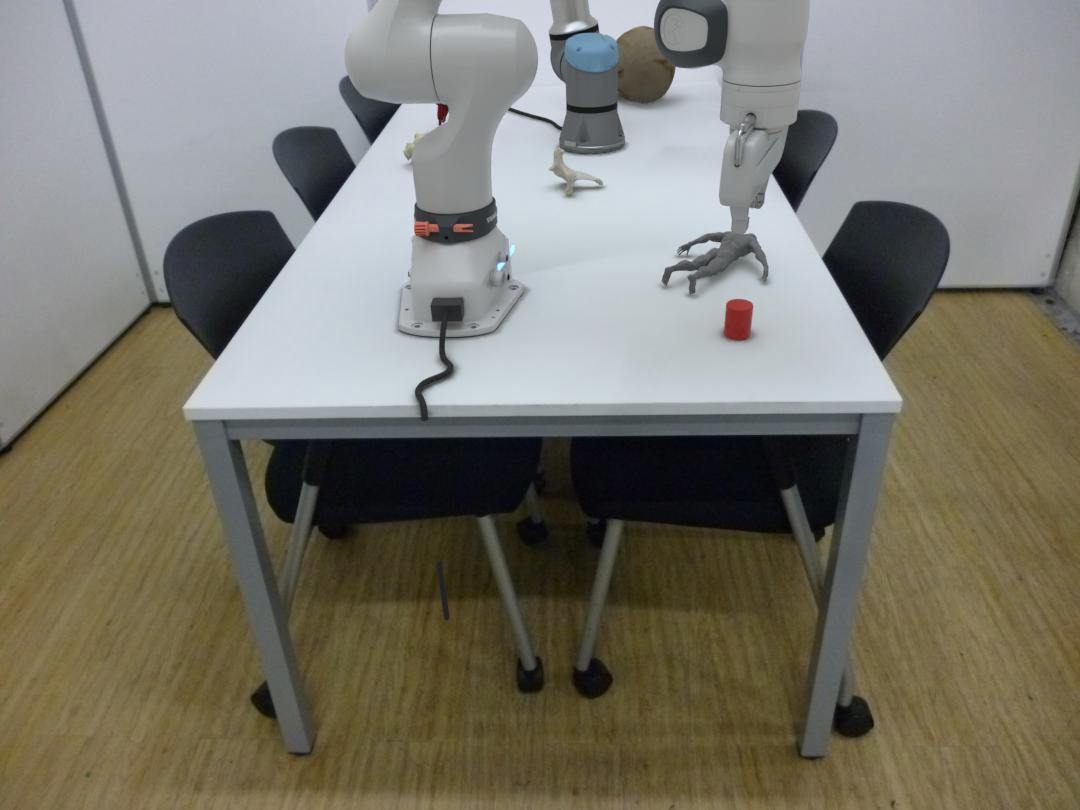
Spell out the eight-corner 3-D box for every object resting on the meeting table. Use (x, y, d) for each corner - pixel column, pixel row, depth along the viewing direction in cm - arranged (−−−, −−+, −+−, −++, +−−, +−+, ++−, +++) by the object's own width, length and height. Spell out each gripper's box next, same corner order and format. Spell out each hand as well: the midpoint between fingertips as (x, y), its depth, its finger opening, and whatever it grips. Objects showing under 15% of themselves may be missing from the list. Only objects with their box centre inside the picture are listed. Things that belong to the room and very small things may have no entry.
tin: (749, 328, 115) (752, 298, 112) (751, 340, 112) (754, 310, 109) (722, 327, 115) (725, 298, 113) (724, 340, 112) (727, 310, 110)
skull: (639, 73, 244) (664, 1, 222) (666, 131, 237) (695, 63, 214) (589, 79, 240) (609, 6, 218) (614, 138, 233) (638, 70, 210)
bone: (576, 172, 159) (561, 138, 165) (554, 195, 163) (539, 162, 168) (611, 192, 166) (595, 159, 172) (589, 214, 170) (574, 181, 175)
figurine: (723, 310, 121) (798, 261, 131) (724, 284, 118) (801, 236, 129) (634, 279, 131) (711, 236, 142) (634, 254, 129) (712, 213, 139)
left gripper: (768, 128, 88) (755, 252, 95) (801, 87, 104) (788, 196, 111) (709, 124, 90) (701, 245, 98) (750, 85, 106) (740, 191, 113)
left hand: (747, 219), depth 105 cm, fingers open, 8 cm apart
